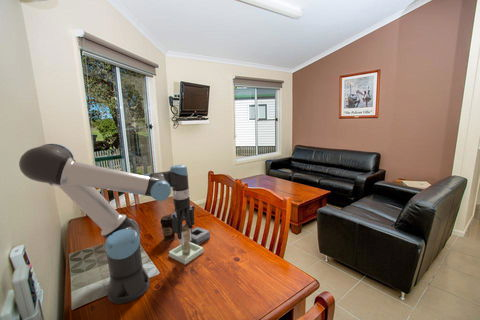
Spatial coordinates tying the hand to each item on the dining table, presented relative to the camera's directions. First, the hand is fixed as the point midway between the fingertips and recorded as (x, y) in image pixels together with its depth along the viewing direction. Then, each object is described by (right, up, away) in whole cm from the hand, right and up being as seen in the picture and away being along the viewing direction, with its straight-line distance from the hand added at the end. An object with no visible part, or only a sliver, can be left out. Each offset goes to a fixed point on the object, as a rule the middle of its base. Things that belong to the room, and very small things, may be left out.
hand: (185, 242), depth 113 cm
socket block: (+3, -4, +15) cm, 16 cm away
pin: (0, -5, +1) cm, 5 cm away
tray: (0, -7, +1) cm, 7 cm away
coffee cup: (-13, -4, +17) cm, 22 cm away
